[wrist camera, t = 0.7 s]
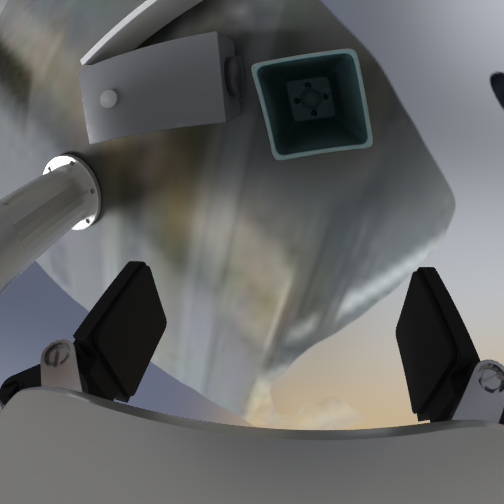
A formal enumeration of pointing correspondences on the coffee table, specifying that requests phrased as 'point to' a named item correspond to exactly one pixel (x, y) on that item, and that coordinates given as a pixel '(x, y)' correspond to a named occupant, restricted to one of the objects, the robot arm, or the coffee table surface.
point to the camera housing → (163, 87)
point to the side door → (137, 28)
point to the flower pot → (313, 103)
